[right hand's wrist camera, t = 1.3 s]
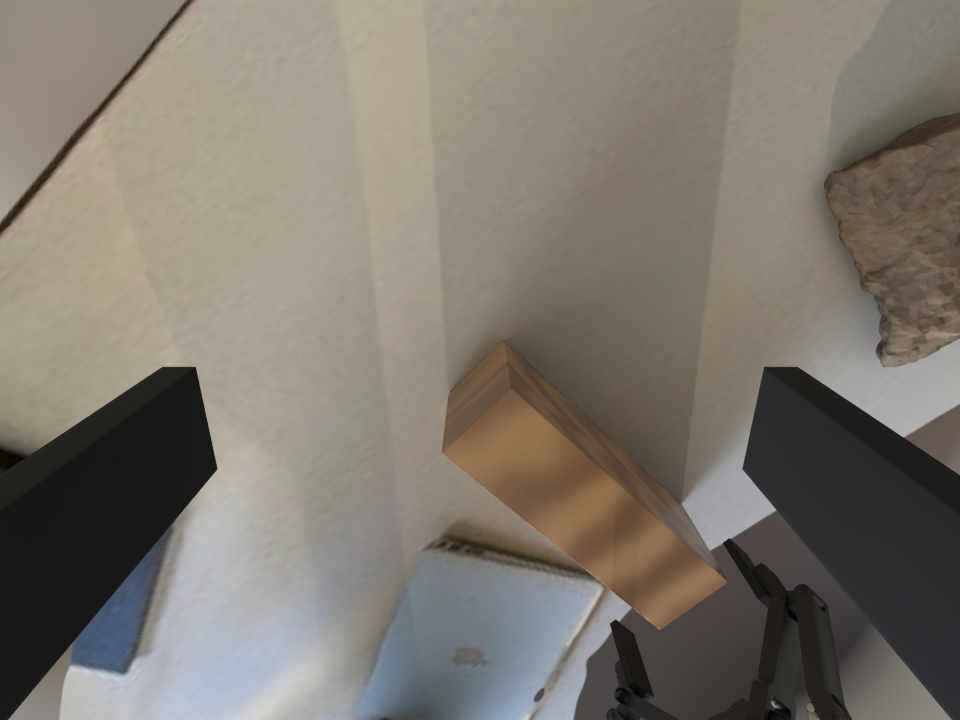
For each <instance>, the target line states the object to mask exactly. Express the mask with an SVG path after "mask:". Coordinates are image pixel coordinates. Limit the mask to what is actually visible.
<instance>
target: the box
mask: <svg viewBox="0 0 960 720" xmlns="http://www.w3.org/2000/svg"><path fill="white" fill-rule="evenodd" d="M442 454H443V455H445V456H446V457H447V458H448V459H450V460H451V461H452V462H453V463H454V464H456V465H457V466H458V467H459V468H461V469H462V470H463V471H464V472H466V473H467V474H468V475H469V476H471V477H472V478H473V479H474V480H475V481H477V482H478V483H479V484H480V485H482V486H483V487H484V488H485V489H487V490H488V491H489V492H490V493H492V494H493V495H494V496H495V497H496V498H498V499H499V500H500V501H501V502H503V503H504V504H505V505H506V506H508V507H509V508H510V509H511V510H513V511H514V512H515V513H516V514H517V515H519V516H520V517H521V518H522V519H524V520H525V521H526V522H527V523H529V524H530V525H531V526H532V527H534V528H535V529H536V530H537V531H538V532H540V533H541V534H542V535H543V536H545V537H546V538H547V539H548V540H550V541H551V542H552V543H553V544H555V545H556V546H557V547H558V548H559V549H561V550H562V551H563V552H564V553H566V554H567V555H568V556H569V557H571V558H572V559H573V560H574V561H576V562H577V563H578V564H579V565H580V566H582V567H583V568H584V569H585V570H587V571H588V572H589V573H590V574H592V575H593V576H594V577H595V578H597V579H598V580H599V581H600V582H601V583H603V584H604V585H605V586H606V587H608V588H609V589H610V590H611V591H613V592H614V593H615V594H616V595H618V596H619V597H620V598H621V599H622V600H624V601H625V602H626V603H627V604H629V605H630V606H631V607H632V608H634V609H635V610H636V611H637V612H639V613H640V614H641V615H642V616H644V617H645V618H646V619H647V620H648V621H650V622H651V623H652V624H653V625H655V626H656V627H657V628H658V629H662V628H663V627H665V626H666V625H668V624H669V623H670V622H672V621H673V620H675V619H676V618H678V617H679V616H680V615H682V614H683V613H685V612H686V611H687V610H689V609H690V608H692V607H693V606H695V605H696V604H697V603H699V602H700V601H702V600H703V599H704V598H706V597H707V596H709V595H710V594H712V593H713V592H714V591H716V590H717V589H719V588H720V587H721V586H723V585H724V584H726V583H727V582H728V581H727V579H726V577H725V576H724V574H723V572H722V571H721V569H720V567H719V566H718V564H717V562H716V561H715V559H714V557H713V556H712V554H711V552H710V551H709V549H708V547H707V546H706V544H705V542H704V541H703V539H702V537H701V536H700V534H699V532H698V531H697V529H696V527H695V526H694V524H693V522H692V521H691V519H690V517H689V516H688V514H687V512H686V511H685V509H684V507H683V506H682V504H681V503H680V502H679V501H678V500H676V499H675V498H674V497H673V496H672V495H671V494H670V493H669V492H668V491H667V490H666V489H664V488H663V487H662V486H661V485H660V484H659V483H658V482H657V481H656V480H655V479H654V478H653V477H651V476H650V475H649V474H648V473H647V472H646V471H645V470H644V469H643V468H642V467H641V466H640V465H638V464H637V463H636V462H635V461H634V460H633V459H632V458H631V457H630V456H629V455H628V454H626V453H625V452H624V451H623V450H622V449H621V448H620V447H619V446H618V445H617V444H616V443H615V442H613V441H612V440H611V439H610V438H609V437H608V436H607V435H606V434H605V433H604V432H603V431H602V430H600V429H599V428H598V427H597V426H596V425H595V424H594V423H593V422H592V421H591V420H590V419H588V418H587V417H586V416H585V415H584V414H583V413H582V412H581V411H580V410H579V409H578V408H577V407H575V406H574V405H573V404H572V403H571V402H570V401H569V400H568V399H567V398H566V397H565V396H564V395H562V394H561V393H560V392H559V391H558V390H557V389H556V388H555V387H554V386H553V385H552V384H550V383H549V382H548V381H547V380H546V379H545V378H544V377H543V376H542V375H541V374H540V373H539V372H537V371H536V370H535V369H534V368H533V367H532V366H531V365H530V364H529V363H528V362H527V361H525V360H524V359H523V358H522V357H521V356H520V355H519V354H518V353H517V352H516V351H515V350H514V349H512V348H511V347H510V346H509V345H508V344H507V343H506V342H505V341H502V342H501V343H500V344H499V345H498V346H497V347H496V348H495V349H494V350H493V351H492V352H491V353H490V354H489V355H488V356H487V357H486V358H485V359H484V360H483V361H482V362H481V363H480V364H479V365H478V366H477V367H476V368H475V369H474V370H473V371H472V372H471V373H470V374H469V375H468V376H467V377H466V378H464V379H463V380H462V381H461V382H460V383H459V384H458V385H457V386H456V387H455V388H454V389H453V390H452V391H451V392H450V393H449V394H448V403H447V412H446V421H445V430H444V439H443V448H442Z"/></svg>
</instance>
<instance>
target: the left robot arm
mask: <svg viewBox="0 0 960 720" xmlns="http://www.w3.org/2000/svg"><path fill="white" fill-rule="evenodd" d="M723 544H724V546H725V547H726V549H727V550H728V552H729V554H730V555H731V557H732V558H733V560H734V562H735V563H736V565H737V566H738V568H739V569H740V571H741V573H742V574H743V576H744V578H745V579H746V581H747V582H748V584H749V585H750V587H751V589H752V590H753V592H754V593H755V595H756V597H757V598H758V600H760V601H761V602H762V603H763V604H764V605H765V606H766V607H767V608H768V614H767V620H766V627H765V633H764V640H763V647H762V653H761V659H760V666H759V672H758V677H757V679H754V680H753V682H752V688H751V694H750V700H749V701H745V700H744V699H740V700H739V701H737V702H735V703H734V704H733V705H732V706H731V707H730V708H729V709H728V710H727V711H726V712H723V713H719V714H716V715H714V716H712V717H711V718H709V719H708V720H795V716H796V704H795V702H794V698H793V695H794V686H795V678H796V669H797V661H798V652H799V643H800V645H801V652H802V660H803V668H804V676H805V683H806V688H807V692H808V695H809V698H810V700H811V702H810V703H807V705H806V709H807V713H808V720H852V718H851V717H850V715H849V713H848V711H847V709H846V707H845V704H844V698H843V693H842V687H841V681H840V675H839V670H838V664H837V658H836V652H835V646H834V641H833V635H832V629H831V623H830V618H829V612H828V607H827V604H826V603H825V602H824V601H823V600H822V599H821V598H820V597H819V596H818V595H817V594H816V593H814V592H813V591H812V590H811V589H810V588H809V587H808V586H807V585H805V584H800V585H797V586H796V587H795V589H794V590H793V591H787V590H786V589H785V587H784V586H783V585H782V583H781V582H780V580H779V579H778V578H777V576H776V575H775V574H774V573H773V572H772V571H771V570H770V569H769V568H768V567H767V566H765V565H764V564H762V563H760V564H759V565H757V566H756V567H755V566H754V564H753V563H752V561H751V560H750V558H749V557H748V555H747V554H746V553H745V552H744V551H743V550H742V549H741V548H740V547H738V546H737V545H736V544H735V543H734V542H733V541H732V540H731V539H730V538H729V539H728V540H726V541H725V542H724V543H723ZM610 626H611V629H612V633H613V636H614V640H615V644H616V647H617V651H618V654H619V658H620V660H619V661H618V662H616V663H615V671H616V675H617V678H618V683H619V687H618V688H617V689H616V690H615V693H614V696H615V699H616V700H617V701H618V702H619V703H620V704H619V705H618V707H617V708H616V709H614V708H611V709H609V711H608V712H607V715H606V719H607V720H639V719H640V718H641V719H643V720H679V719H677V718H675V717H673V716H672V715H670V714H668V713H666V712H665V711H663V710H661V709H659V708H658V707H656V706H654V705H652V704H651V703H649V702H647V701H649V700H650V699H652V698H653V697H654V695H653V692H652V689H651V686H650V683H649V680H648V677H647V674H646V670H645V667H644V664H643V661H642V658H641V655H640V652H639V649H638V646H637V643H636V639H635V636H634V634H633V633H632V632H631V631H630V630H628V629H627V628H626V627H625V626H623V625H622V624H621V623H620V622H618V621H617V620H614V621H613V622H612V623H610ZM643 698H644V699H645V700H646V701H645V700H644V699H643ZM771 704H772V705H773V706H774V711H773V710H771V709H770V705H771Z"/></svg>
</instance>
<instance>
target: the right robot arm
mask: <svg viewBox="0 0 960 720" xmlns="http://www.w3.org/2000/svg"><path fill="white" fill-rule="evenodd" d="M216 470H217V464H216V460H215V455H214V450H213V446H212V441H211V436H210V432H209V427H208V422H207V418H206V413H205V408H204V403H203V399H202V394H201V389H200V385H199V380H198V375H197V371H196V367H162V368H160V369H159V370H157V371H156V372H154V373H153V374H151V375H150V376H148V377H147V378H145V379H144V380H142V381H141V382H139V383H138V384H136V385H135V386H133V387H132V388H130V389H129V390H127V391H126V392H124V393H123V394H121V395H120V396H118V397H117V398H115V399H114V400H112V401H111V402H109V403H108V404H106V405H105V406H103V407H102V408H100V409H99V410H97V411H96V412H94V413H93V414H91V415H90V416H88V417H87V418H85V419H84V420H82V421H81V422H79V423H78V424H76V425H75V426H73V427H72V428H70V429H69V430H67V431H66V432H64V433H63V434H61V435H60V436H58V437H57V438H55V439H54V440H52V441H51V442H49V443H48V444H46V445H45V446H43V447H42V448H40V449H39V450H37V451H36V452H34V453H33V454H31V455H30V456H28V457H27V458H25V459H24V460H22V461H21V462H19V463H18V464H16V465H15V466H13V467H12V468H10V469H9V470H7V471H6V472H4V473H3V474H1V475H0V720H8V719H9V718H10V717H11V716H12V714H13V713H14V712H15V711H16V710H17V708H18V707H19V706H20V705H21V703H22V702H23V701H24V700H25V699H26V698H27V696H28V695H29V694H30V693H31V692H32V690H33V689H34V688H35V687H36V686H37V684H38V683H39V682H40V681H41V680H42V678H43V677H44V676H45V675H46V674H47V672H48V671H49V670H50V669H51V668H52V666H53V665H54V664H55V663H56V662H57V660H58V659H59V658H60V657H61V656H62V655H63V653H64V652H65V651H66V650H67V649H68V647H69V646H70V645H71V644H72V643H73V641H74V640H75V639H76V638H77V637H78V635H79V634H80V633H81V632H82V631H83V629H84V628H85V627H86V626H87V625H88V623H89V622H90V621H91V620H92V619H93V617H94V616H95V615H96V614H97V613H98V611H99V610H100V609H101V608H102V607H103V605H104V604H105V603H106V602H107V601H108V600H109V598H110V597H111V596H112V595H113V594H114V592H115V591H116V590H117V589H118V588H119V586H120V585H121V584H122V583H123V582H124V580H125V579H126V578H127V577H128V576H129V574H130V573H131V572H132V571H133V570H134V568H135V567H136V566H137V565H138V564H139V562H140V561H141V560H142V559H143V558H144V556H145V555H146V554H147V553H148V552H149V550H150V549H151V548H152V547H153V546H154V544H155V543H156V542H157V541H158V540H159V538H160V537H161V536H162V535H163V534H164V533H165V531H166V530H167V529H168V528H169V527H170V525H171V524H172V523H173V522H174V521H175V519H176V518H177V517H178V516H179V515H180V513H181V512H182V511H183V510H184V509H185V507H186V506H187V505H188V504H189V503H190V501H191V500H192V499H193V498H194V497H195V495H196V494H197V493H198V492H199V491H200V489H201V488H202V487H203V486H204V485H205V483H206V482H207V481H208V480H209V479H210V477H211V476H212V475H213V474H214V473H215V472H216ZM743 470H744V472H745V473H746V474H747V475H748V476H749V477H750V479H751V480H752V481H753V482H754V483H755V485H756V486H757V487H758V488H759V489H760V491H761V492H762V493H763V494H764V495H765V497H766V498H767V499H768V500H769V501H770V503H771V504H772V505H773V506H774V507H775V509H776V510H777V511H778V512H779V513H780V515H781V516H782V517H783V518H784V519H785V520H786V522H787V523H788V524H789V525H790V527H791V528H792V529H793V530H794V531H795V532H796V534H797V535H798V536H799V537H800V538H801V540H802V541H803V542H804V543H805V544H806V546H807V547H808V548H809V549H810V550H811V552H812V553H813V554H814V555H815V556H816V558H817V559H818V560H819V561H820V562H821V564H822V565H823V566H824V567H825V568H826V570H827V571H828V572H829V573H830V574H831V576H832V577H833V578H834V579H835V580H836V582H837V583H838V584H839V585H840V586H841V588H842V589H843V590H844V591H845V592H846V594H847V595H848V596H849V597H850V598H851V599H852V601H853V602H854V603H855V604H856V605H857V607H858V608H859V609H860V610H861V611H862V613H863V614H864V615H865V616H866V617H867V619H868V620H869V621H870V622H871V623H872V625H873V626H874V627H875V628H876V629H877V631H878V632H879V633H880V634H881V635H882V636H883V638H884V639H885V640H886V641H887V643H888V644H889V645H890V646H891V647H892V649H893V650H894V651H895V652H896V653H897V655H898V656H899V657H900V658H901V659H902V661H903V662H904V663H905V664H906V665H907V666H908V668H909V669H910V670H911V671H912V672H913V674H914V675H915V676H916V677H917V678H918V680H919V681H920V682H921V683H922V684H923V686H924V687H925V688H926V689H927V690H928V692H929V693H930V694H931V695H932V696H933V698H934V699H935V700H936V701H937V702H938V704H939V705H940V706H941V707H942V708H943V710H944V711H945V712H946V713H947V714H948V716H949V717H950V718H951V719H952V720H960V475H959V474H957V473H956V472H954V471H953V470H951V469H950V468H948V467H947V466H945V465H944V464H942V463H941V462H939V461H938V460H936V459H935V458H933V457H932V456H930V455H929V454H927V453H926V452H924V451H923V450H921V449H920V448H918V447H917V446H915V445H914V444H912V443H911V442H909V441H908V440H906V439H905V438H903V437H902V436H900V435H899V434H897V433H896V432H894V431H893V430H891V429H890V428H888V427H887V426H885V425H884V424H882V423H881V422H879V421H878V420H876V419H875V418H873V417H872V416H870V415H869V414H867V413H866V412H864V411H863V410H861V409H860V408H858V407H857V406H855V405H854V404H852V403H851V402H849V401H848V400H846V399H845V398H843V397H842V396H840V395H839V394H837V393H836V392H834V391H833V390H831V389H830V388H828V387H827V386H825V385H824V384H822V383H821V382H819V381H818V380H816V379H815V378H813V377H812V376H810V375H809V374H807V373H806V372H804V371H803V370H801V369H800V368H798V367H764V371H763V375H762V380H761V385H760V389H759V394H758V399H757V403H756V408H755V413H754V418H753V422H752V427H751V432H750V436H749V441H748V446H747V450H746V455H745V460H744V464H743Z"/></svg>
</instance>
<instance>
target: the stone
mask: <svg viewBox="0 0 960 720" xmlns="http://www.w3.org/2000/svg"><path fill="white" fill-rule="evenodd" d="M824 187H825V189H826V191H827V195H826V197H827V202H828V205H829V208H830V209H831V211H832V213H833V215H834V216H835V217H836V218H837V219H838V221H839V230H840V234H839V238H840V240H841V241H842V243H843V244H844V245H845V246H846V247H847V248H848V249H849V250H850V252H851V254H852V256H853V258H854V259H855V266H856V267H857V269H858V271H859V273H860V284H861V287H862V289H863V290H864V291H867V292H870V293H872V294H874V295H875V301H876V302H877V303H878V311H879V313H881V314H882V317H881V320H880V326H879V333H880V335H881V337H882V339H881V341H880V342H879V344H878V345H877V349H876V354H877V356H878V358H879V359H880V362H881V364H882V366H883V367H897V366H901V365H904V364H906V363H910V362H915V361H917V360H919V359H920V358H926V357H927V356H929V355H931V354H932V353H934V352H936V351H938V350H939V349H940V348H941V347H944V346H946V345H948V344H951V343H952V342H954V341H955V340H957V339H959V338H960V113H957V114H953V115H950V116H945V117H940V118H934V119H932V120H930V121H927V122H925V123H923V124H921V125H919V126H917V127H915V128H913V129H911V130H909V131H907V132H906V133H904V134H902V135H901V136H900V137H899V138H897V139H896V140H895V141H894V142H893V143H892V144H890V145H889V146H888V147H886V148H884V149H882V150H880V151H878V152H875V153H873V154H872V155H870V156H868V157H866V158H864V159H862V160H860V161H858V162H856V163H854V164H853V165H851V166H850V167H849V168H845V169H842V170H840V171H834V172H833V173H831V174H830V175H829V176H828V178H827V179H826V181H825V183H824Z"/></svg>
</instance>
